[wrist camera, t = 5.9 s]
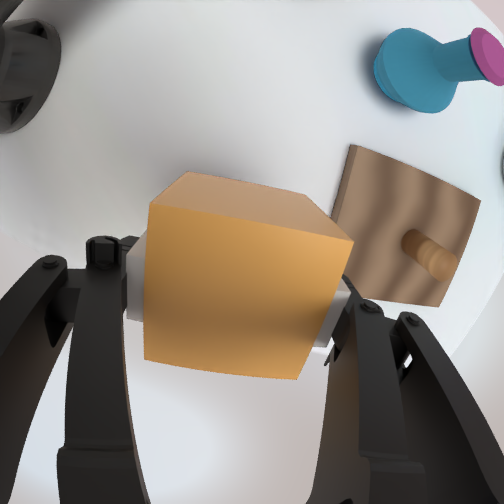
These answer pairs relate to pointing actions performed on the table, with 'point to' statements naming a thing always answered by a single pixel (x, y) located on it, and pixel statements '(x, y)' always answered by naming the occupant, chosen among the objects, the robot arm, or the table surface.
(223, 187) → the wooden toy cube
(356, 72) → the table surface
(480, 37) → the perfume bottle
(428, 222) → the post board
